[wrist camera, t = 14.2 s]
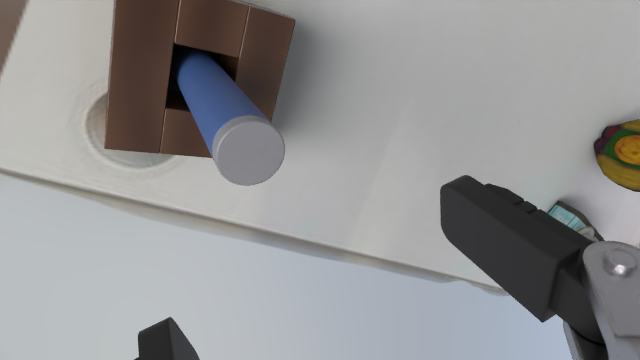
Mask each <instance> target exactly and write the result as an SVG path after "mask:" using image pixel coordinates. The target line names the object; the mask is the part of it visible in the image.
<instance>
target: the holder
mask: <svg viewBox="0 0 640 360" xmlns="http://www.w3.org/2000/svg"><path fill="white" fill-rule="evenodd" d="M294 25H295V19H293V18H290V17H288V16H285V15H283V14H280V13H278V12H275V11H273V10H270V9H266V8H263V7H260V6H256V5H253V4H250V3H246V2H243V1H239V0H114V10H113V24H112V38H111V52H110V66H109V80H108V94H107V108H106V123H105V146H104V148H105V149H113V150H124V151H136V152H148V153H159V152H160V153H161V154H173V155H184V156H196V157H208V158H212V155H211V153H210V151H209V149H208V147H207V145H206V143H205V141H204V139H203V136H202V134H201V132H200V130H199V128H198V126H197V124H196V122H195V120H194V117H193V115H192V113H191V111H190V109H189V107H188V105H187V103H186V101H185V98H184V96H183V94H182V92H181V90H177V89H171V88H168V83H169V76H170V68H171V61H172V53H173V45H174V43H175V44H178V45H183V46H187V47H192V48H196V49H201V50H206V51H210V52H215V53H219V54H220V60H219V66H220V67H221V68H222V69H223V70H224V71H225V72H226V73H227V75H228V76H229V77H230V78H231V79H232V80H233V81H234V82H235V83H236V85H237V86H238V87H239V88H240V89H241V90H242V91H243V92H244V93H245V95H246V96H247V97H248V98H249V99H250V100H251V101H252V102H253V103H254V105H255V106H256V107H257V108H258V109H259V110H260V111H261V112H262V113H263V114H264V116H265V117H266V118H267V119H268V120H269V121H270V122H271V119H272V115H273V111H274V107H275V103H276V99H277V95H278V90H279V86H280V82H281V78H282V74H283V70H284V66H285V62H286V58H287V54H288V49H289V45H290V41H291V37H292V33H293V29H294Z"/></svg>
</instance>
